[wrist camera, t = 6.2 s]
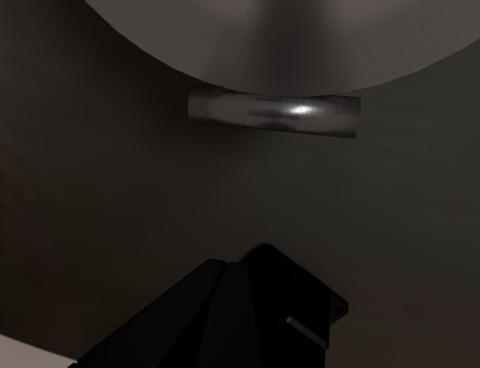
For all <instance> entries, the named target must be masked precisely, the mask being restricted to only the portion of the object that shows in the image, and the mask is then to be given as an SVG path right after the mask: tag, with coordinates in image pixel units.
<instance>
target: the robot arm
mask: <svg viewBox="0 0 480 368" xmlns="http://www.w3.org/2000/svg"><path fill="white" fill-rule="evenodd" d="M264 252H268V253H269V254H265V253H264ZM338 306H339V307H342V308H338ZM347 313H348V303H347V301H346V300H344V299H343V298H342V297H340V296H339V295H338V294H336V293H335V292H334V291H332V290H331V289H330V288H329V287H328V286H327V285H325V284H324V283H323V282H321V281H320V280H319V279H317V278H316V277H315V276H313V275H312V274H311V273H309V272H308V271H307V270H305V269H304V268H303V267H301V266H300V265H298V264H296V263H295V262H293V261H292V260H291V259H289V258H288V257H287V256H285V255H284V254H283V253H281V252H280V251H279V250H277V249H276V248H275V247H273V246H272V245H270V244H262V245H261V246H260V247H258V248H257V249H256V250H255V251H254V252H253V253H252V254H251V255H250V256H249V257H248V258H247V259H246V260H245V261H244V262H243V263H235V262H229V263H227V262H226V261H223V260H217V259H208V260H206V261H205V262H204V263H202V264H201V265H200V266H198V267H197V268H196V269H194V270H193V271H192V272H191V273H189V274H188V275H187V276H185V277H184V278H183V279H182V280H180V281H179V282H178V283H176V284H175V285H174V286H172V287H171V288H170V289H169V290H167V291H166V292H165V293H163V294H162V295H161V296H160V297H158V298H157V299H156V300H154V301H153V302H152V303H150V304H149V305H148V306H147V307H145V308H144V309H143V310H141V311H140V312H139V313H137V314H136V315H135V316H134V317H132V318H131V319H130V320H128V321H127V322H126V323H125V324H123V325H122V326H121V327H119V328H118V329H117V330H115V331H114V332H113V333H112V334H110V335H109V336H108V337H106V338H105V339H104V340H103V341H101V342H100V343H99V344H97V345H96V346H95V347H93V348H92V349H91V350H90V351H88V352H87V353H86V354H84V355H83V356H82V357H81V358H79V359H78V360H77V363H73V364H71V365H70V366H69V367H68V368H325V350H327V349H328V348H329V333H330V325H331V324H333V323H334V322H336V321H337V320H339V319H340V318H342V317H343V316H344V315H346V314H347Z"/></svg>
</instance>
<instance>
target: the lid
mask: <svg viewBox="0 0 480 368" xmlns="http://www.w3.org/2000/svg"><path fill="white" fill-rule="evenodd" d="M85 1H86V2H87V3H88V4H89V5H90V6H91V7H92V8H93V9H94V10H95V11H96V12H97V13H98V14H99V15H100V16H102V17H103V18H104V19H105V20H106V21H107V22H108V23H109V24H110V25H111V26H112V27H113V28H114V29H115V30H117V31H118V32H119V33H121V34H122V35H123V36H125V37H126V38H127V39H129V40H130V41H131V42H133V43H134V44H135V45H137V46H138V47H139V48H141V49H142V50H143V51H145V52H146V53H148V54H150V55H152V56H153V57H155V58H157V59H158V60H160V61H162V62H164V63H165V64H167V65H169V66H170V67H172V68H174V69H176V70H178V71H181V72H183V73H185V74H188V75H190V76H192V77H195V78H197V79H199V80H202V81H204V82H207V83H211V84H214V85H218V86H214V85H202V84H194V85H193V86H192V88H191V90H190V94H189V99H188V114H189V118H190V121H191V122H192V123H202V124H212V125H221V126H231V127H241V128H251V129H261V130H271V131H281V132H291V133H301V134H311V135H321V136H331V137H341V138H351V139H355V137H356V133H357V128H358V123H359V116H360V107H361V97H349V96H337V95H329V94H338V93H345V92H349V91H354V90H358V89H362V88H367V87H371V86H375V85H379V84H383V83H385V82H388V81H391V80H394V79H396V78H399V77H402V76H405V75H408V74H410V73H413V72H416V71H419V70H421V69H423V68H425V67H427V66H429V65H431V64H433V63H435V62H437V61H439V60H441V59H443V58H445V57H447V56H449V55H451V54H453V53H455V52H457V51H460V50H462V49H463V48H465V47H466V46H468V45H469V44H471V43H473V42H474V41H476V40H477V39H479V38H480V0H85Z"/></svg>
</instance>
